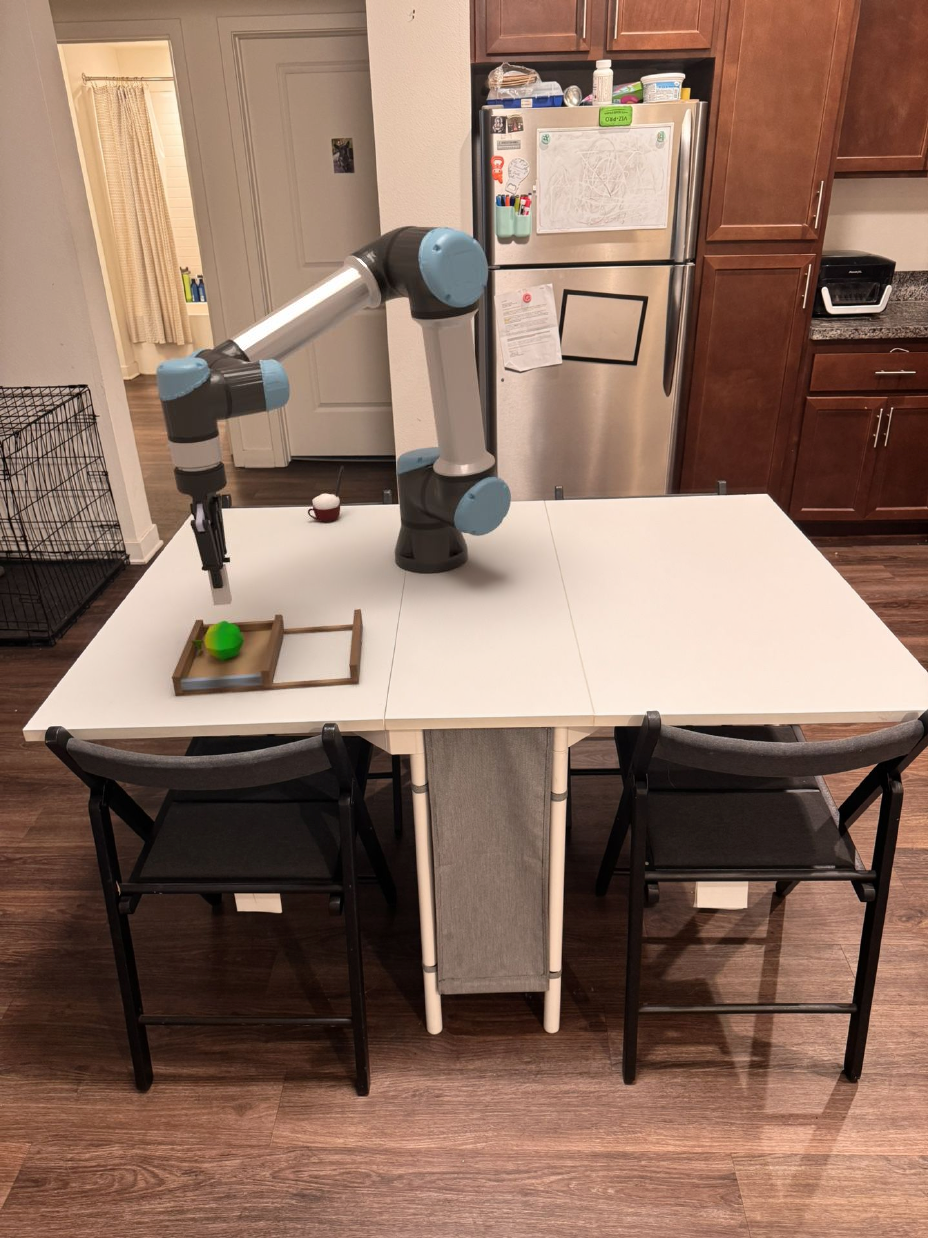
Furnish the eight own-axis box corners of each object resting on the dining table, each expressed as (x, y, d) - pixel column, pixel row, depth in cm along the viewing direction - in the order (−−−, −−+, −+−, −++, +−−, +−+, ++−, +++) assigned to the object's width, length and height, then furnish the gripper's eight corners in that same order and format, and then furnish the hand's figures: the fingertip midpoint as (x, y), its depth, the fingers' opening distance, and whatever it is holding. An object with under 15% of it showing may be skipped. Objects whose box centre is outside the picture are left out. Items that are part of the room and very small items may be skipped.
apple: (240, 615, 154) (186, 616, 154) (237, 651, 152) (182, 652, 152) (250, 630, 161) (198, 632, 161) (247, 665, 158) (195, 666, 158)
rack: (362, 626, 167) (361, 609, 165) (358, 683, 149) (356, 664, 147) (199, 637, 166) (196, 619, 164) (175, 696, 148) (171, 677, 146)
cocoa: (309, 526, 214) (300, 477, 208) (312, 515, 219) (303, 467, 213) (349, 523, 214) (342, 473, 208) (352, 512, 219) (344, 464, 213)
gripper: (182, 452, 147) (207, 587, 158) (163, 478, 135) (192, 622, 146) (230, 450, 147) (251, 584, 158) (215, 475, 136) (240, 619, 146)
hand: (222, 602), depth 152 cm, fingers closed
